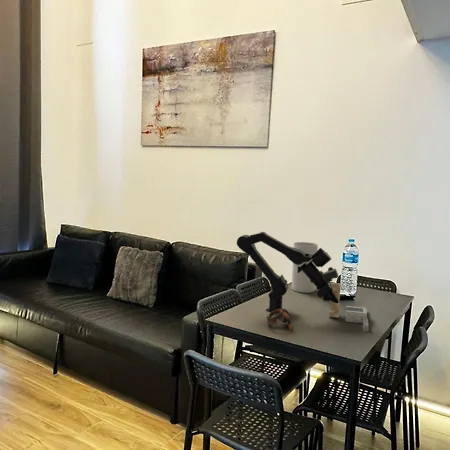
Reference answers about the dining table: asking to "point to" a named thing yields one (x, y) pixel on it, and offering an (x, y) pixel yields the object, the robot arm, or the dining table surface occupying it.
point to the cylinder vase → (300, 279)
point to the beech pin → (334, 306)
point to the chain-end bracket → (357, 316)
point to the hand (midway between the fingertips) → (338, 301)
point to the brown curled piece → (279, 317)
